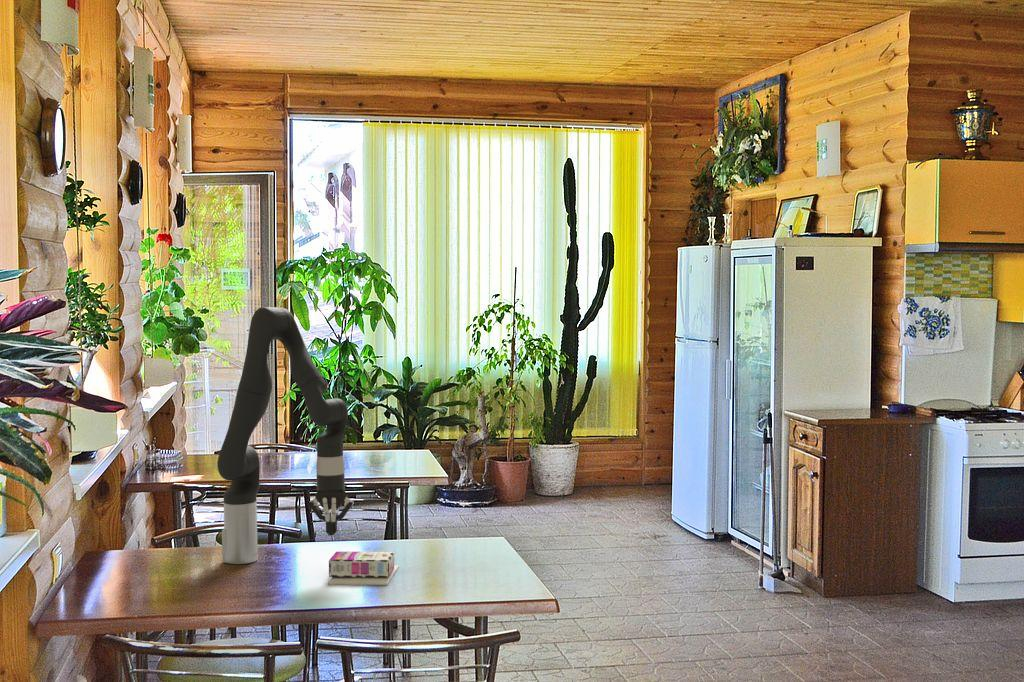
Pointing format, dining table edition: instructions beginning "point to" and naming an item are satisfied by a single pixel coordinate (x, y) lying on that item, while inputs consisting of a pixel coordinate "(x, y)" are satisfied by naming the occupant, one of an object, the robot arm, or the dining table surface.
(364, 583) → the mat
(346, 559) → the candy bar box
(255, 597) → the dining table surface
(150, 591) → the dining table surface
